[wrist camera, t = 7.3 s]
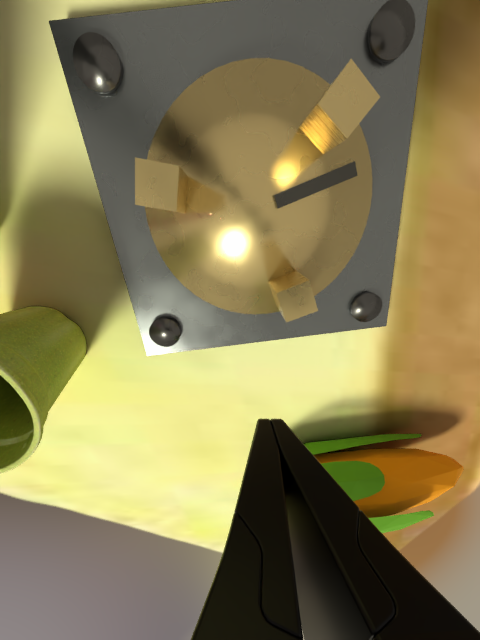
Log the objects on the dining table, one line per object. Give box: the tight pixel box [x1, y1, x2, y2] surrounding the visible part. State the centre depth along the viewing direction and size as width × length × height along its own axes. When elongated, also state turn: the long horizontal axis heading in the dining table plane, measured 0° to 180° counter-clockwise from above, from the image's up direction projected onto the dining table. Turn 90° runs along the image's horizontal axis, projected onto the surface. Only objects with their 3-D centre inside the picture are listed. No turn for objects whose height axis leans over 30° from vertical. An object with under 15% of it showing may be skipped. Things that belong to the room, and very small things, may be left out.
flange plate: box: [49, 0, 428, 356], centre depth 17 cm, size 20×20×2 cm
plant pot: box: [0, 306, 87, 473], centre depth 17 cm, size 9×9×9 cm
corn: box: [304, 434, 464, 533], centre depth 24 cm, size 7×8×20 cm
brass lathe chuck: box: [135, 58, 380, 323], centre depth 14 cm, size 14×14×4 cm
